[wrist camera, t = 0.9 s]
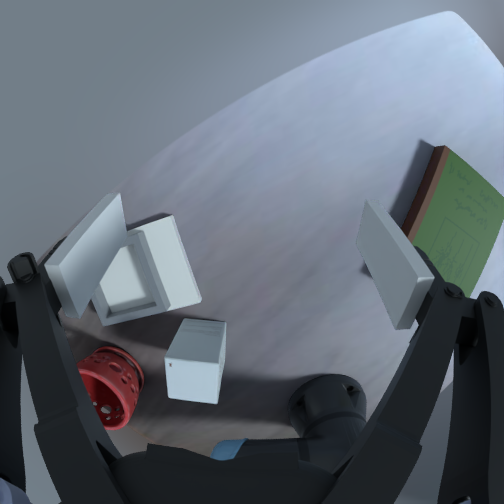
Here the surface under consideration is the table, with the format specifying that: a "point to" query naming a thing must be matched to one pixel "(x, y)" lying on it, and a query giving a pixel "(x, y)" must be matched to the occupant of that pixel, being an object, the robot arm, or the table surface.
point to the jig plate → (146, 275)
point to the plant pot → (112, 384)
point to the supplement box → (196, 361)
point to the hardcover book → (455, 218)
